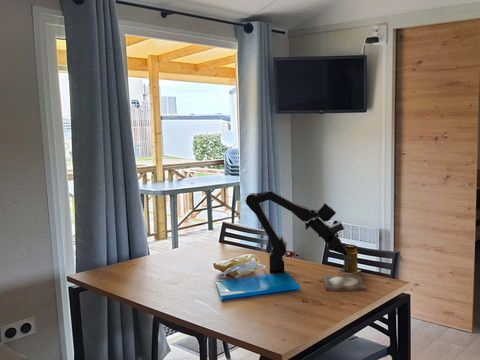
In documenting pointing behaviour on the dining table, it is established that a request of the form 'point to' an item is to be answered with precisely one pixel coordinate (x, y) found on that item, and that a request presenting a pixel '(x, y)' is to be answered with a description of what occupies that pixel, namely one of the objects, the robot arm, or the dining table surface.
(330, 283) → the grey flat square slab
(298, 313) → the dining table surface
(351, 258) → the condiment
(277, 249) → the robot arm
